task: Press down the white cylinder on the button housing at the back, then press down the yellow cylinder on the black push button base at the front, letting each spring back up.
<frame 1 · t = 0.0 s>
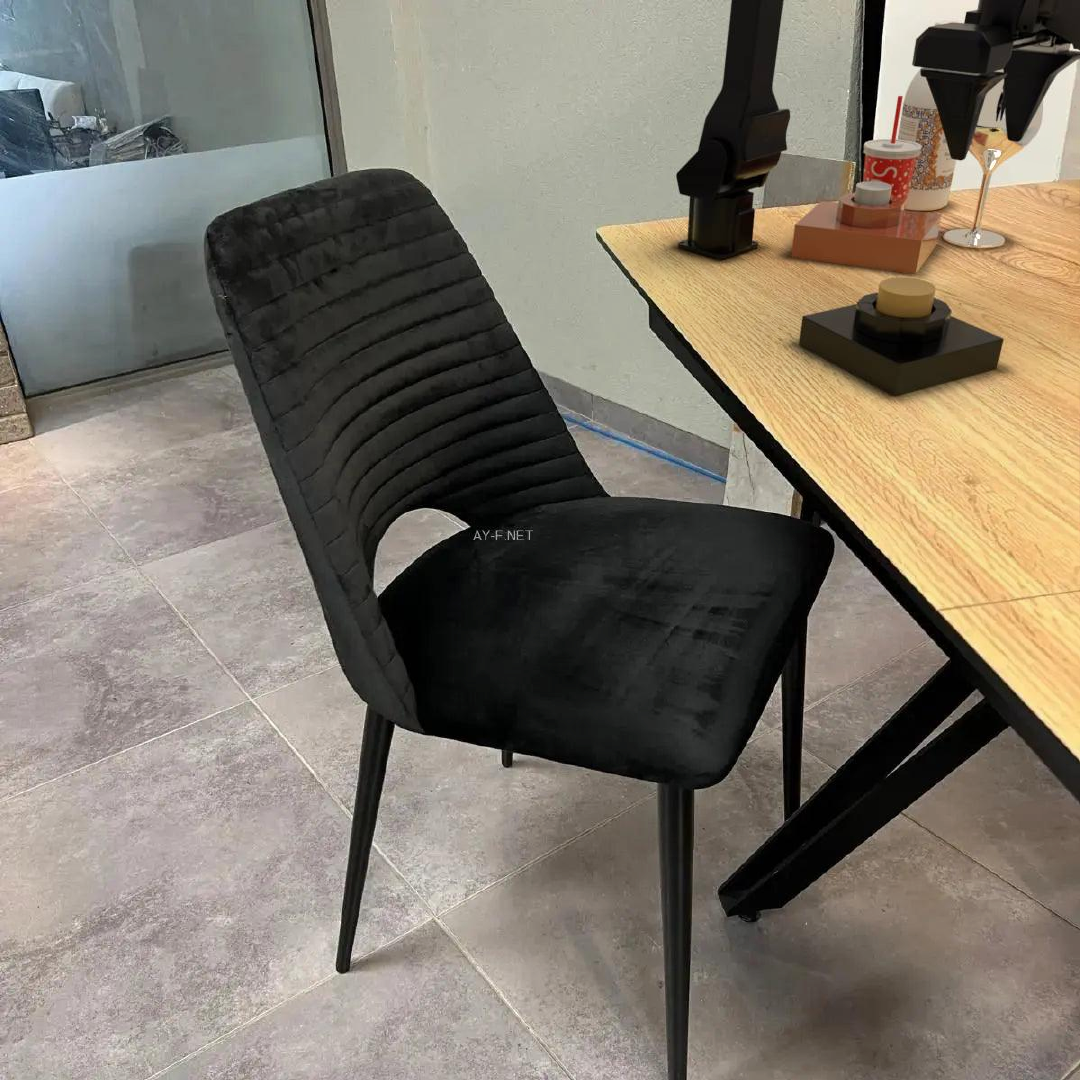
hand: (986, 150, 87), 15 cm above the table, tool pointing down, fingers open, 9 cm apart
white cylinder: (872, 194, 107), point 6 cm above the table, slide at 0.1 cm
button housing: (863, 251, 111), on the table
wineglass: (973, 241, 113), on the table
bath foam: (916, 205, 125), on the table
beverage cup: (879, 228, 118), on the table
yellow cylinder: (905, 298, 85), point 5 cm above the table, slide at 0.1 cm
black push button base: (894, 356, 87), on the table
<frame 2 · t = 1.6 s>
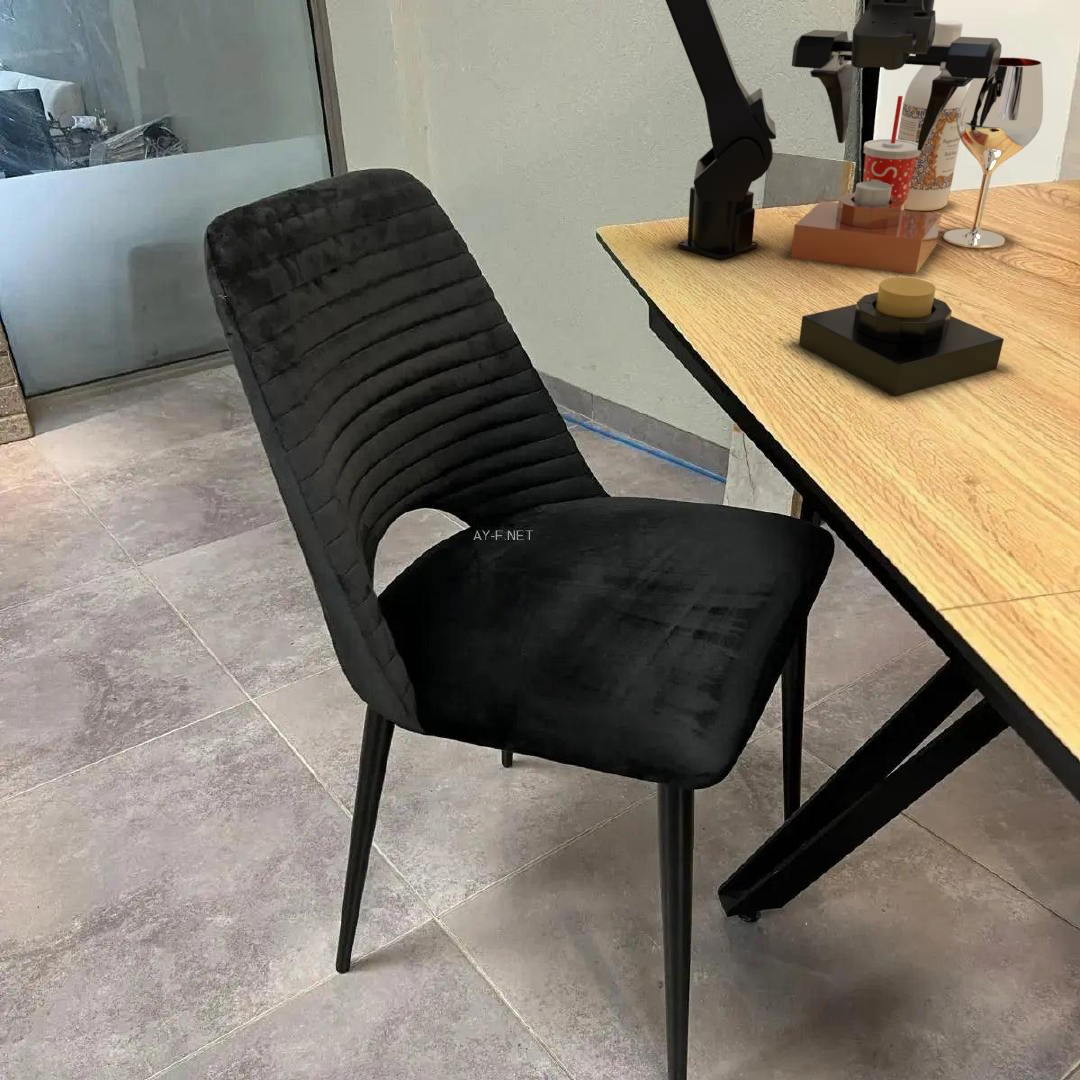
hand: (880, 146, 104), 11 cm above the table, tool pointing down, fingers open, 8 cm apart
nothing on the table moved.
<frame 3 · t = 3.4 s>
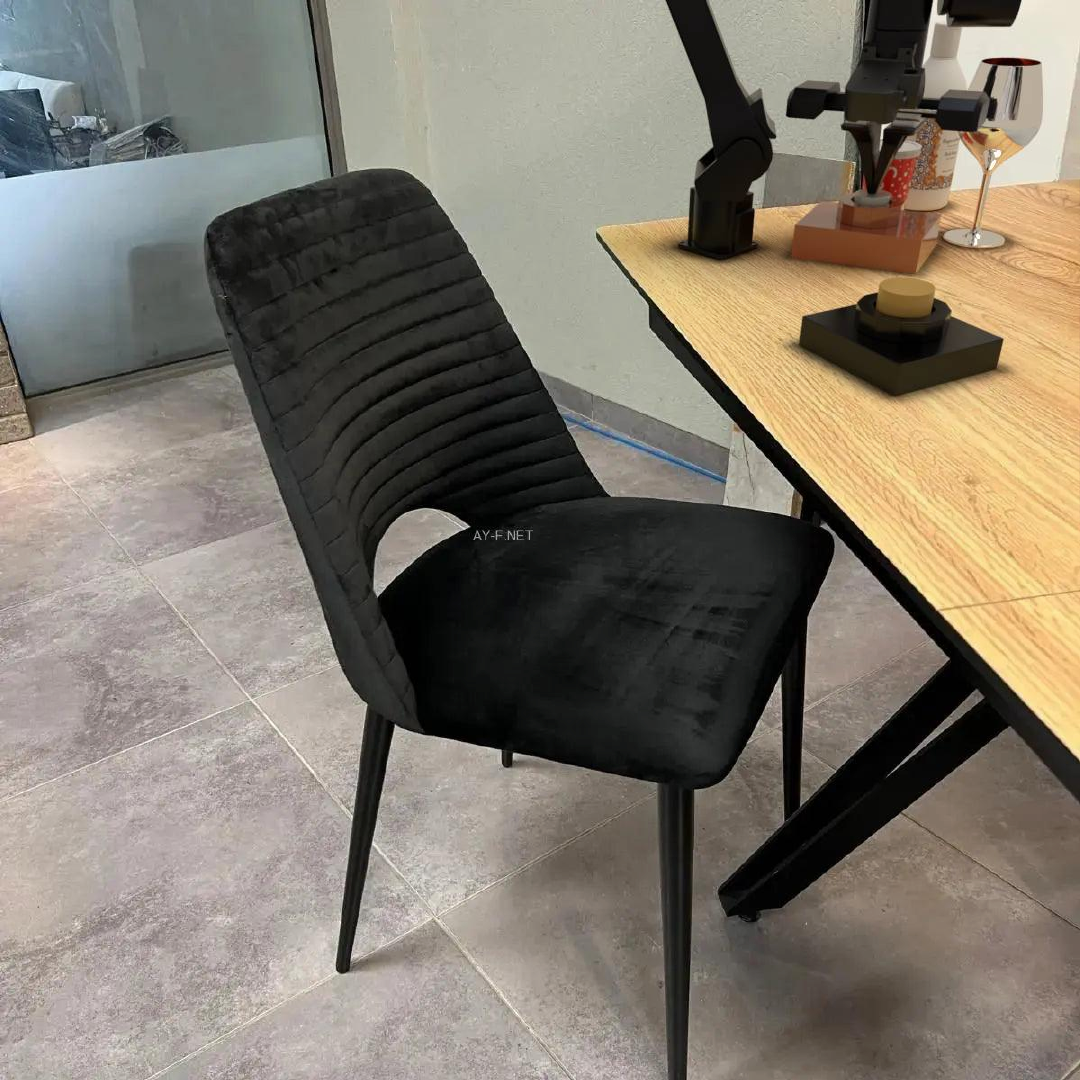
hand: (872, 193, 107), 6 cm above the table, tool pointing down, fingers closed, pressing on white cylinder
white cylinder: (871, 202, 108), point 5 cm above the table, slide at -0.7 cm, touching gripper
everything else where it was.
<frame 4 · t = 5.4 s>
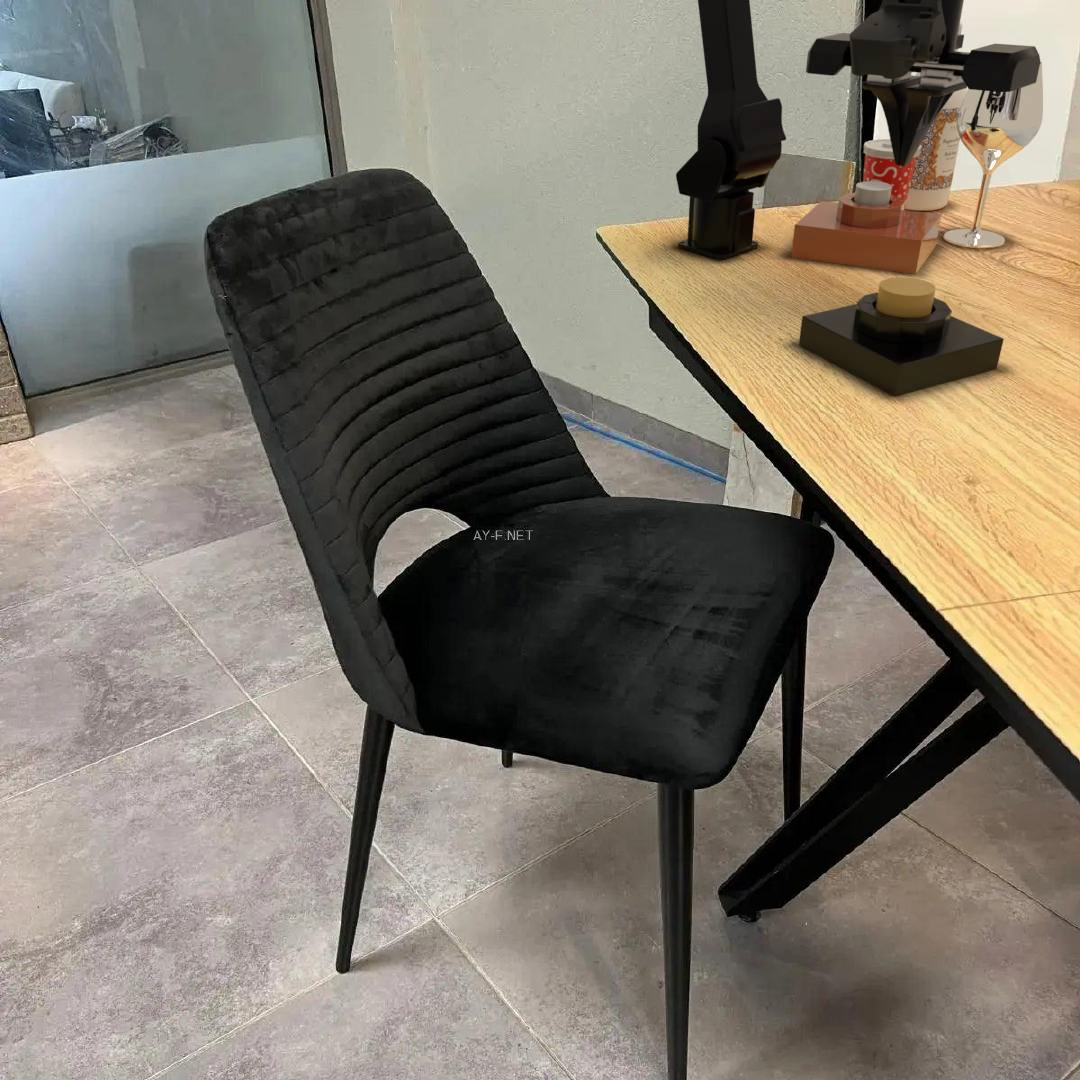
hand: (902, 165, 93), 12 cm above the table, tool pointing down, fingers closed
white cylinder: (872, 194, 107), point 6 cm above the table, slide at 0.1 cm
everything else where it was.
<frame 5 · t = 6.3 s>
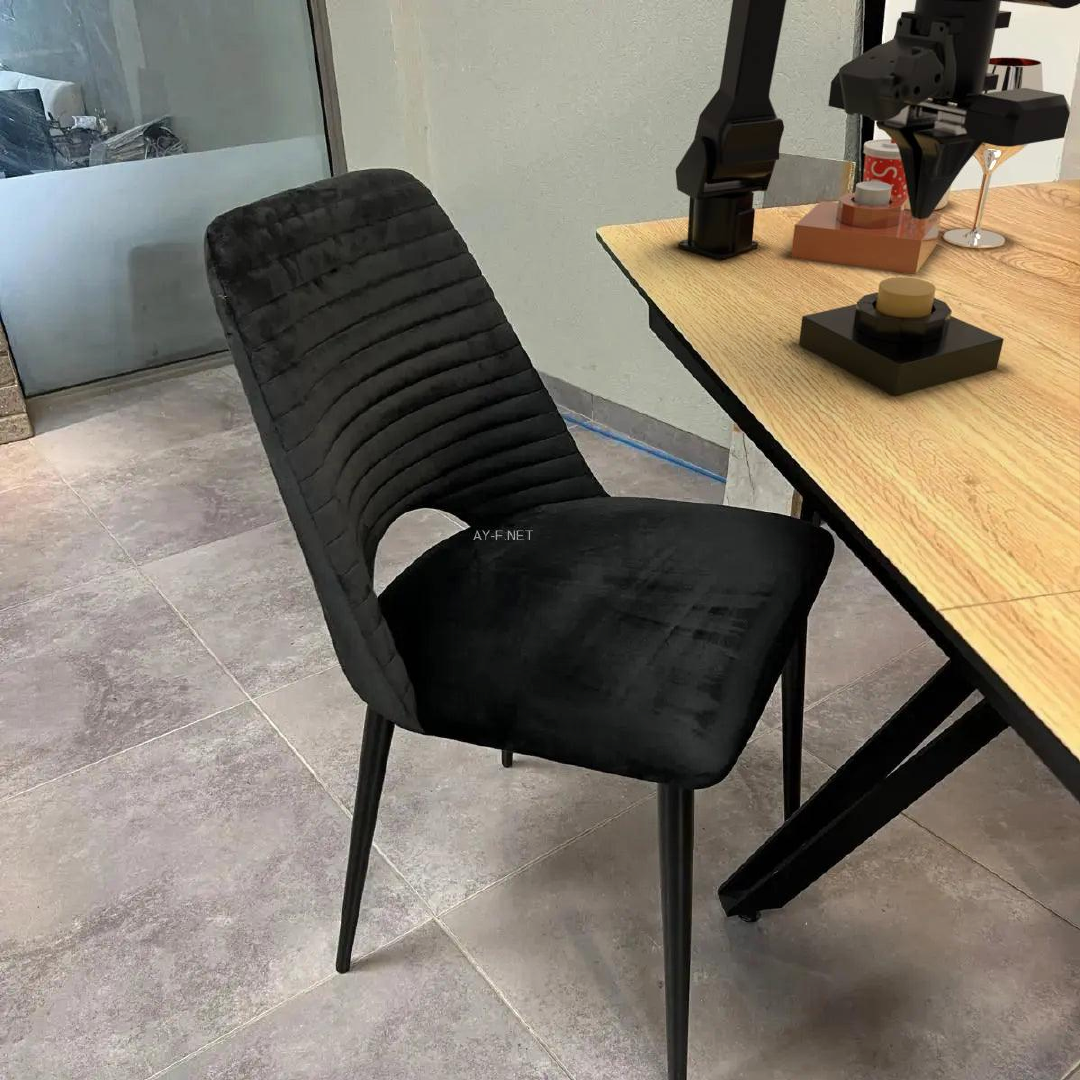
hand: (920, 218, 81), 12 cm above the table, tool pointing down, fingers closed
nothing on the table moved.
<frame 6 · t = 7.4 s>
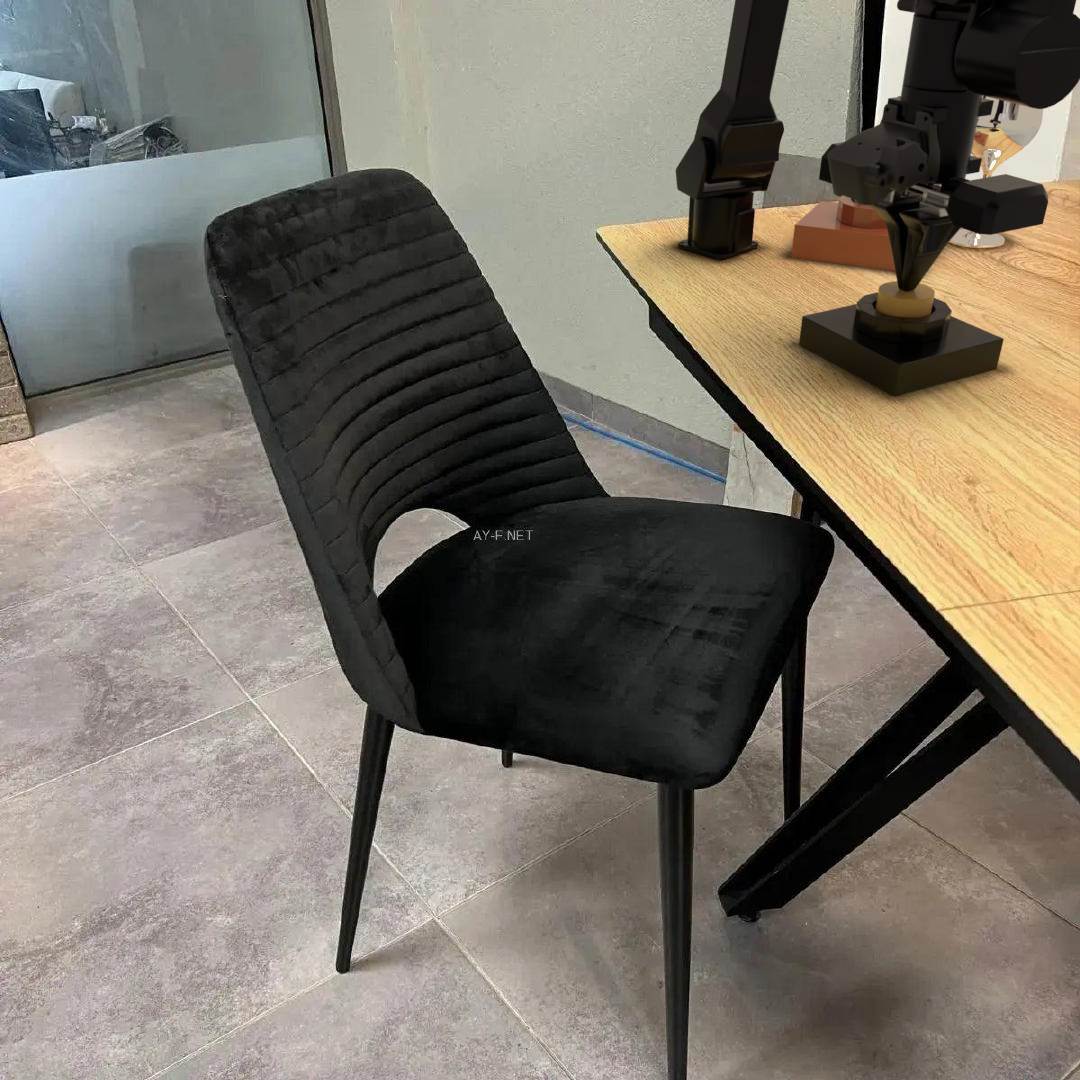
hand: (906, 289, 84), 6 cm above the table, tool pointing down, fingers closed, pressing on yellow cylinder
yellow cylinder: (904, 302, 85), point 5 cm above the table, slide at -0.3 cm, touching gripper
everything else where it was.
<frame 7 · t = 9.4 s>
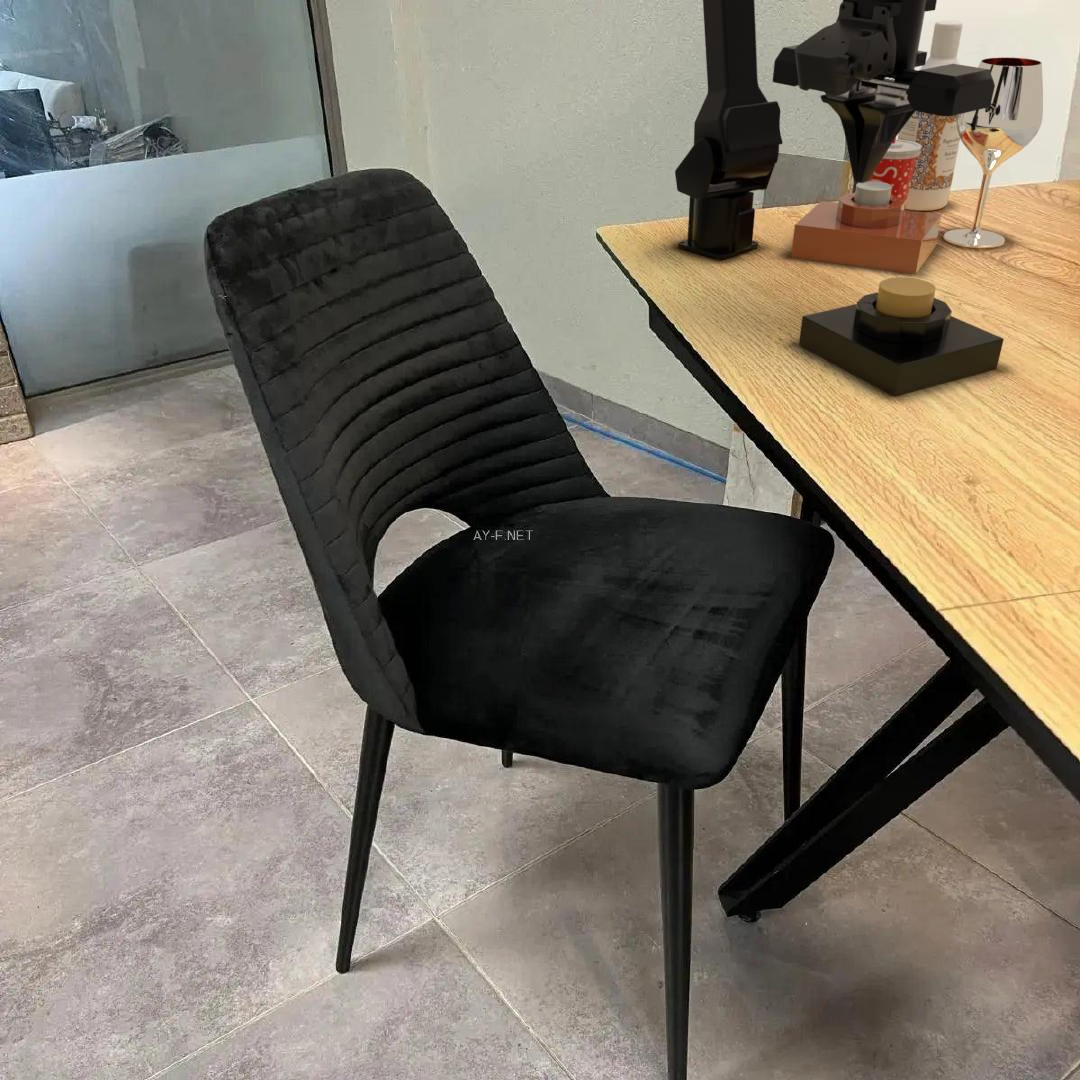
hand: (860, 181, 91), 12 cm above the table, tool pointing down, fingers closed
yellow cylinder: (905, 298, 85), point 5 cm above the table, slide at 0.1 cm
everything else where it was.
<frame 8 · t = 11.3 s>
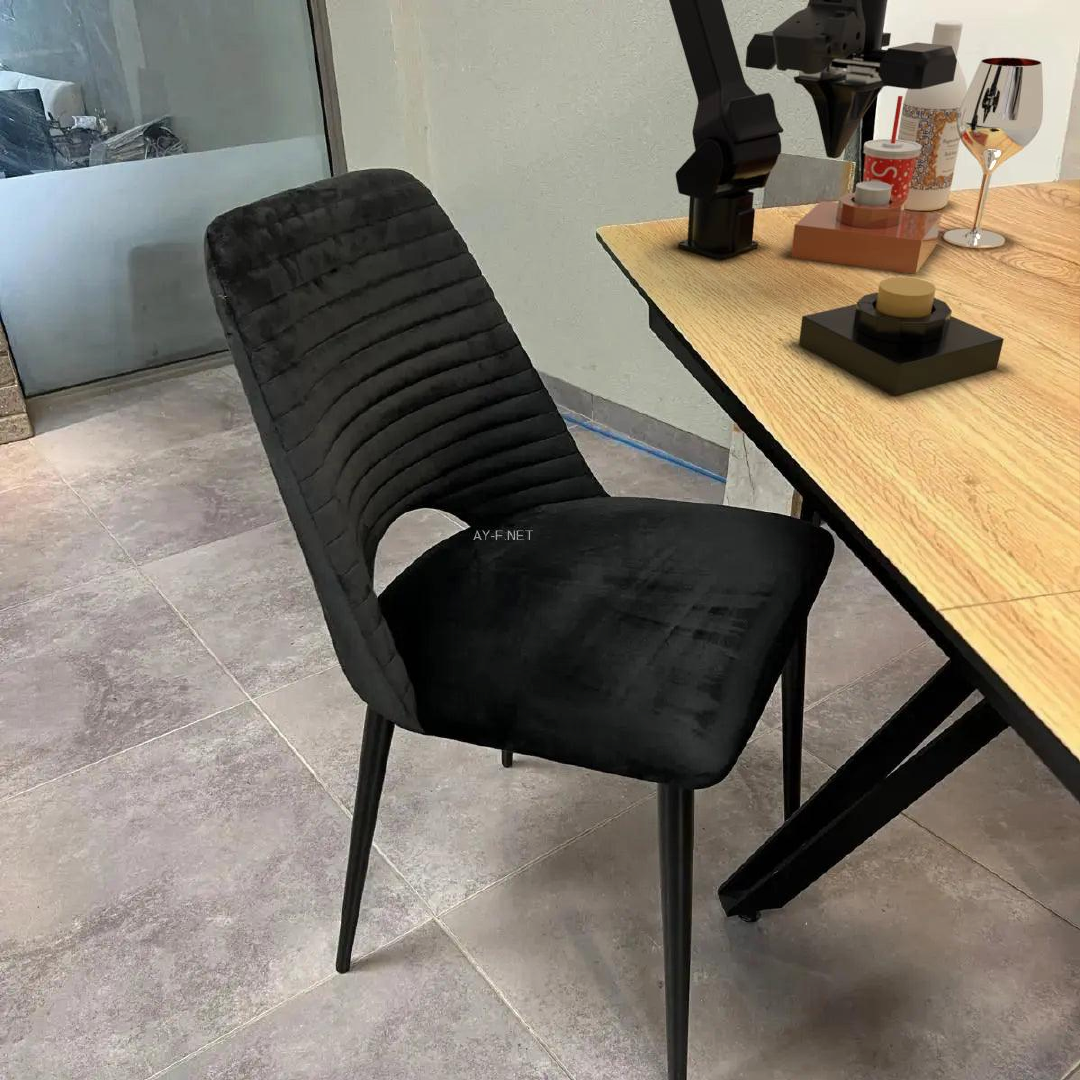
hand: (833, 157, 97), 12 cm above the table, tool pointing down, fingers closed
nothing on the table moved.
at the end: white cylinder pushed in 1.3 cm at the most during the clip, back to where it started at the end; yellow cylinder pushed in 1.1 cm at the most during the clip, back to where it started at the end; yellow cylinder slide at 0.1 cm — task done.
